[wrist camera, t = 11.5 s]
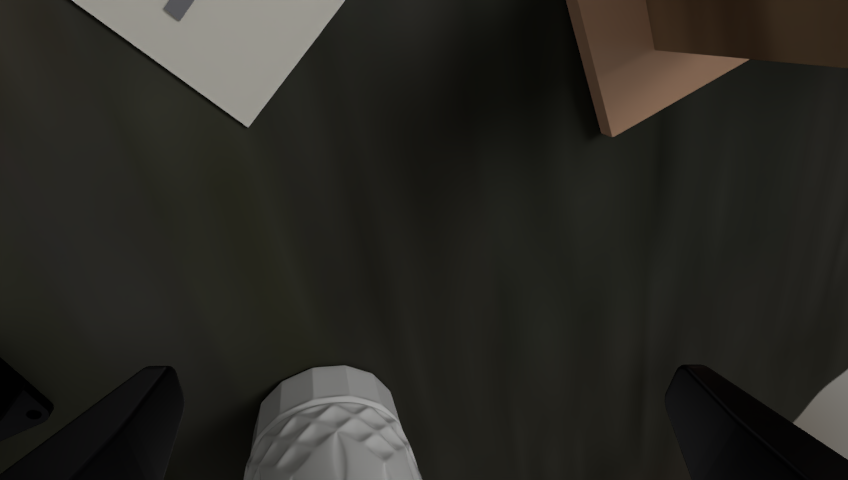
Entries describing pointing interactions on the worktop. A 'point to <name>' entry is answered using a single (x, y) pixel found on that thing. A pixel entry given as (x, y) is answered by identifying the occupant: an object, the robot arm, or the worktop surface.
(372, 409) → the white cup
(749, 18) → the walnut block
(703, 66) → the plate
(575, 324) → the worktop surface
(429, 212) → the worktop surface
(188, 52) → the letter
